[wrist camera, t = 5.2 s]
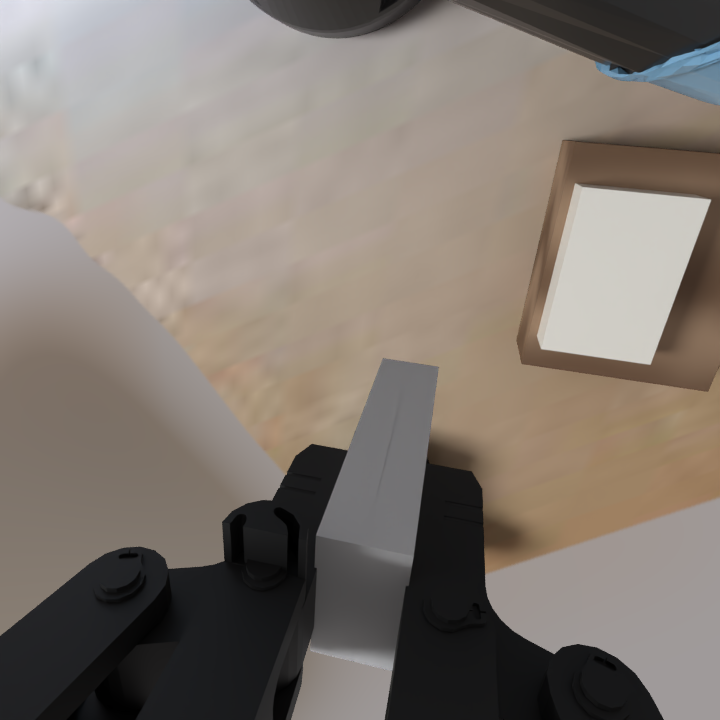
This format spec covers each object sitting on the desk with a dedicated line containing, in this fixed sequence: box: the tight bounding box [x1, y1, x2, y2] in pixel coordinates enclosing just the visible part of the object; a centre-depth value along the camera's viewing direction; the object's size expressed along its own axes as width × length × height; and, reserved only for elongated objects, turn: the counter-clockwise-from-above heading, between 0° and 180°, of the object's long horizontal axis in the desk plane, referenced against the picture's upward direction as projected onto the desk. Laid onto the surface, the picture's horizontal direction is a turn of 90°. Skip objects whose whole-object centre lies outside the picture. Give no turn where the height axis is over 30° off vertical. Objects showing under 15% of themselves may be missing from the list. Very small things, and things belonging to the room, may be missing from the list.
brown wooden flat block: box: [517, 140, 720, 392], centre depth 30 cm, size 13×11×4 cm
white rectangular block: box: [537, 183, 711, 365], centre depth 27 cm, size 9×6×2 cm, turn 176°
